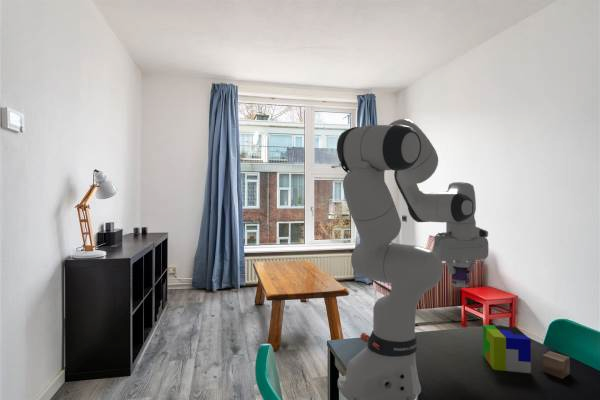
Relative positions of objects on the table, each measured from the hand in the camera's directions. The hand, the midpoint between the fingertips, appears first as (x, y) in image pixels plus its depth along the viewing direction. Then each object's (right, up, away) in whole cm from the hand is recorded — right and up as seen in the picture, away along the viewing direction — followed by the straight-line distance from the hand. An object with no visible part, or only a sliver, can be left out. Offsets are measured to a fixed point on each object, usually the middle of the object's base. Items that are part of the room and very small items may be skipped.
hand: (460, 273), depth 113 cm
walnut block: (+23, -27, -12) cm, 37 cm away
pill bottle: (0, -4, 0) cm, 4 cm away
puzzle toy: (+11, -27, -6) cm, 30 cm away
